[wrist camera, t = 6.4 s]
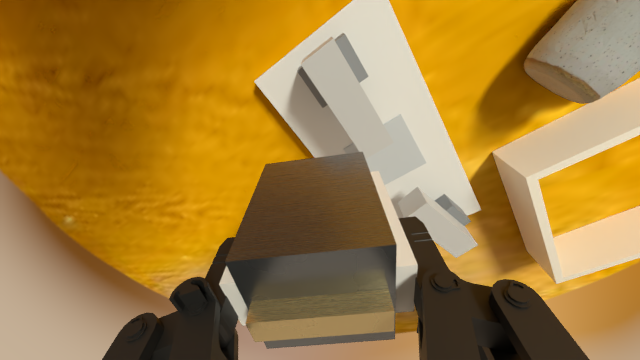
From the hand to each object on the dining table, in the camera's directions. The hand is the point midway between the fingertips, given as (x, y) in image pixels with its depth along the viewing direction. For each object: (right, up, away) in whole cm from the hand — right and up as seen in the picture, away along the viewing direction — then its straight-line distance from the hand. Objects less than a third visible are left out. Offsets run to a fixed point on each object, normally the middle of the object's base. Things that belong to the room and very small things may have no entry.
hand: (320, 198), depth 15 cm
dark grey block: (0, 0, 0) cm, 0 cm away
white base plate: (+8, +5, +16) cm, 18 cm away
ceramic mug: (+25, +15, +10) cm, 31 cm away
